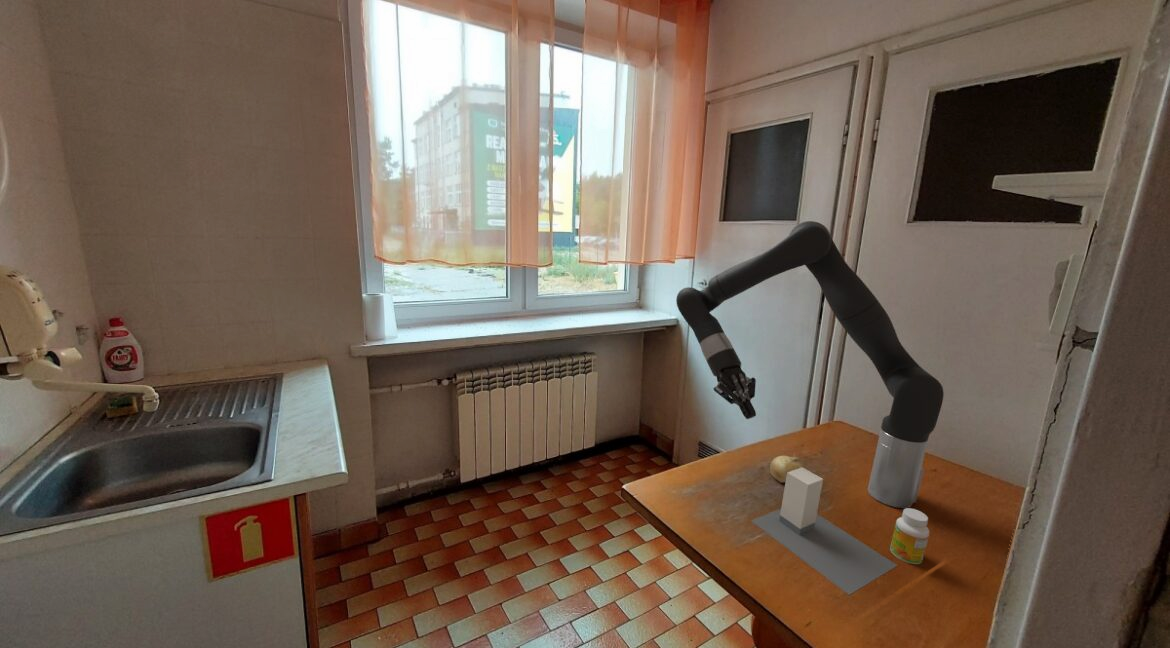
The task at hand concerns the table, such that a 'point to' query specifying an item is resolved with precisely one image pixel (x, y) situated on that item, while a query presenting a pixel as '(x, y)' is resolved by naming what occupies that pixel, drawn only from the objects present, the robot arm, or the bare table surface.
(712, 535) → the table surface
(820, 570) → the mat
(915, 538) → the supplement bottle
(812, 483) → the tall block
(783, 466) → the onion
